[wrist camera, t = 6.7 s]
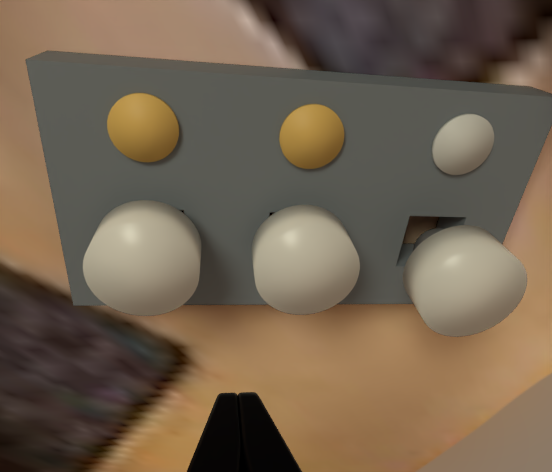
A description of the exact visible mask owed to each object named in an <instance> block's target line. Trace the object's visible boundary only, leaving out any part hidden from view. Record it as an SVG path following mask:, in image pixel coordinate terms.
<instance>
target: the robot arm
mask: <svg viewBox="0 0 552 472" xmlns="http://www.w3.org/2000/svg"><path fill="white" fill-rule="evenodd" d="M187 472H302V471H301V469H300V468H299V466H298V464H297V462H296V461H295V459H294V457H293V455H292V454H291V452H290V450H289V448H288V447H287V445H286V443H285V441H284V440H283V438H282V436H281V434H280V433H279V431H278V429H277V427H276V426H275V424H274V422H273V420H272V419H271V417H270V415H269V413H268V412H267V410H266V408H265V406H264V405H263V403H262V401H261V399H260V398H259V396H258V395H257V394H256V393H254V392H246V393H239V394H238V396H237V394H236V393H220V394H219V395H218V396H217V398H216V401H215V403H214V406H213V408H212V411H211V413H210V416H209V418H208V421H207V423H206V426H205V428H204V431H203V433H202V435H201V438H200V440H199V443H198V445H197V448H196V450H195V453H194V455H193V458H192V460H191V463H190V465H189V467H188V470H187Z"/></svg>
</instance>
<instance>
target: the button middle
mask: <svg viewBox="0 0 552 472" xmlns="http://www.w3.org/2000/svg"><path fill="white" fill-rule="evenodd" d="M252 261H253V269H254V278H255V284H256V288H257V290H258V292H259V294H260V296H261V297H262V298H263V300H264V301H265V302H266V303H267V304H269V305H270V306H271V307H273V308H275V309H277V310H279V311H282V312H285V313H288V314H295V315H307V314H314V313H318V312H321V311H324V310H327V309H329V308H331V307H333V306H335V305H336V304H338V303H339V302H340V301H342V300H343V299H344V298H345V297H346V296H347V295H348V294H349V293H350V292H351V290H352V289H353V287H354V286H355V284H356V282H357V279H358V276H359V271H360V261H359V256H358V254H357V251H356V249H355V247H354V245H353V243H352V241H351V239H350V237H349V235H348V233H347V231H346V229H345V227H344V226H343V224H342V222H341V221H340V220H339V219H338V218H337V217H336V216H335V215H334V214H333V213H331V212H330V211H328V210H326V209H324V208H321V207H318V206H313V205H296V206H291V207H287V208H284V209H282V210H279V211H278V212H276V213H274V214H272V215H271V216H270V217H268V218H267V219H266V220H265V221H264V222H263V223H262V224H261V225H260V227H259V228H258V230H257V231H256V234H255V236H254V238H253V242H252Z"/></svg>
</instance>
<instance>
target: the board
mask: <svg viewBox="0 0 552 472" xmlns="http://www.w3.org/2000/svg"><path fill="white" fill-rule="evenodd" d="M26 64H27V69H28V75H29V80H30V85H31V90H32V95H33V100H34V105H35V110H36V116H37V121H38V126H39V131H40V136H41V141H42V146H43V151H44V157H45V162H46V167H47V172H48V177H49V182H50V187H51V192H52V198H53V203H54V208H55V213H56V218H57V223H58V228H59V234H60V239H61V244H62V249H63V254H64V259H65V264H66V269H67V275H68V280H69V285H70V290H71V295H72V300H73V305H106V304H105V303H103V302H102V301H101V300H99V299H98V298H97V297H96V296H95V295H94V294H93V292H92V291H91V290H90V288H89V286H88V285H87V283H86V280H85V277H84V273H83V260H84V256H85V253H86V251H87V249H88V247H89V245H90V243H91V241H92V238H93V236H94V234H95V232H96V230H97V228H98V226H99V224H100V222H101V221H102V219H103V218H104V217H105V216H106V215H107V214H108V213H109V212H110V211H111V210H113V209H114V208H116V207H118V206H120V205H122V204H124V203H128V202H131V201H138V200H151V201H157V202H162V203H165V204H168V205H170V206H172V207H175V208H176V209H178V210H184V214H185V215H186V216H187V217H188V218H189V219H190V220H191V221H192V222H193V224H194V225H195V227H196V229H197V230H198V233H199V235H200V239H201V261H200V275H199V282H198V285H197V288H196V290H195V292H194V293H193V295H192V296H191V297H190V299H189V300H188V301H187V302H185V303H184V304H183V305H269V304H267V303H266V302H265V301H264V300H263V298H262V297H261V296H260V294H259V292H258V290H257V288H256V284H255V278H254V269H253V261H252V242H253V238H254V236H255V234H256V231H257V230H258V228H259V227H260V225H261V224H262V223H263V222H264V221H265V220H266V219H267V218H268V217H269V214H270V212H278V211H279V210H282V209H284V208H287V207H291V206H296V205H313V206H318V207H321V208H324V209H326V210H328V211H330V212H331V213H333V214H334V215H335V216H336V217H337V218H338V219H339V220H340V221H341V222H342V224H343V226H344V227H345V229H346V231H347V233H348V235H349V237H350V239H351V241H352V243H353V245H354V247H355V249H356V251H357V254H358V256H359V261H360V271H359V276H358V279H357V282H356V284H355V286H354V287H353V289H352V290H351V292H350V293H349V294H348V295H347V296H346V297H345V298H344V299H343V300H342V301H340V302H339V303H338V304H413V302H412V300H411V299H410V297H409V295H408V294H407V292H406V290H405V288H404V284H403V272H404V267H405V265H406V262H407V260H408V258H409V256H410V255H411V254H412V252H413V247H414V244H402V242H403V239H404V235H405V231H406V228H407V224H408V221H409V217H410V216H435V217H439V220H438V223H437V226H436V228H442V229H446V228H449V227H453V226H459V225H471V226H476V227H480V228H482V229H485V230H486V231H488V232H489V233H490V234H492V235H493V236H494V237H495V238H496V239H497V240H498V241H499V242H500V243H501V244H502V243H503V241H504V238H505V236H506V234H507V231H508V229H509V226H510V224H511V222H512V219H513V217H514V215H515V212H516V210H517V207H518V205H519V203H520V200H521V198H522V195H523V193H524V191H525V188H526V186H527V183H528V181H529V179H530V176H531V174H532V171H533V169H534V167H535V164H536V162H537V159H538V157H539V155H540V152H541V150H542V147H543V145H544V143H545V140H546V138H547V135H548V133H549V131H550V128H551V126H552V94H551V93H548V92H545V91H542V90H539V89H536V88H533V87H529V86H515V85H502V84H488V83H475V82H462V81H448V80H435V79H421V78H408V77H394V76H381V75H368V74H354V73H341V72H327V71H314V70H300V69H287V68H274V67H260V66H247V65H233V64H220V63H206V62H193V61H180V60H166V59H153V58H139V57H126V56H113V55H99V54H86V53H72V52H59V51H45V52H43V53H40V54H38V55H35V56H33V57H31V58H28V59H26Z"/></svg>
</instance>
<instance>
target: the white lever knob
mask: <svg viewBox="0 0 552 472" xmlns="http://www.w3.org/2000/svg"><path fill="white" fill-rule="evenodd" d="M403 284H404V288H405V290H406V292H407V294H408V295H409V297H410V299H411V300H412V302H413V304H414V305H415V307H416V309H417V310H418V312H419V314H420V315H421V317H422V319H423V320H424V322H425V323H426V325H427V326H428V327H429V328H430V329H432V330H433V331H435V332H437V333H439V334H442V335H445V336H453V337H459V336H468V335H473V334H477V333H479V332H482V331H485V330H487V329H489V328H491V327H493V326H495V325H496V324H498V323H499V322H501V321H502V320H503V319H505V318H506V317H507V316H508V315H509V314H510V313H511V312H512V311H513V310H514V309H515V308H516V307H517V305H518V304H519V302H520V301H521V299H522V297H523V295H524V293H525V290H526V286H527V274H526V270H525V268H524V266H523V264H522V263H521V262H520V261H519V260H518V259H517V258H516V257H515V256H514V255H513V254H512V253H511V252H510V251H509V250H508V249H507V248H506V247H504V246H503V245H502V244H501V243H500V242H499V241H498V240H497V239H496V238H495V237H494V236H493V235H492V234H490V233H489V232H488V231H486V230H485V229H482V228H480V227H476V226H471V225H459V226H453V227H449V228H446V229H442V228H435V229H431V230H428V231H426V232H424V233H423V234H422V235H420V236H419V238H418V239H417V240H416V242H415V244H414V247H413V252H412V254H411V255H410V256H409V258H408V260H407V262H406V265H405V267H404V272H403Z"/></svg>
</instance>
